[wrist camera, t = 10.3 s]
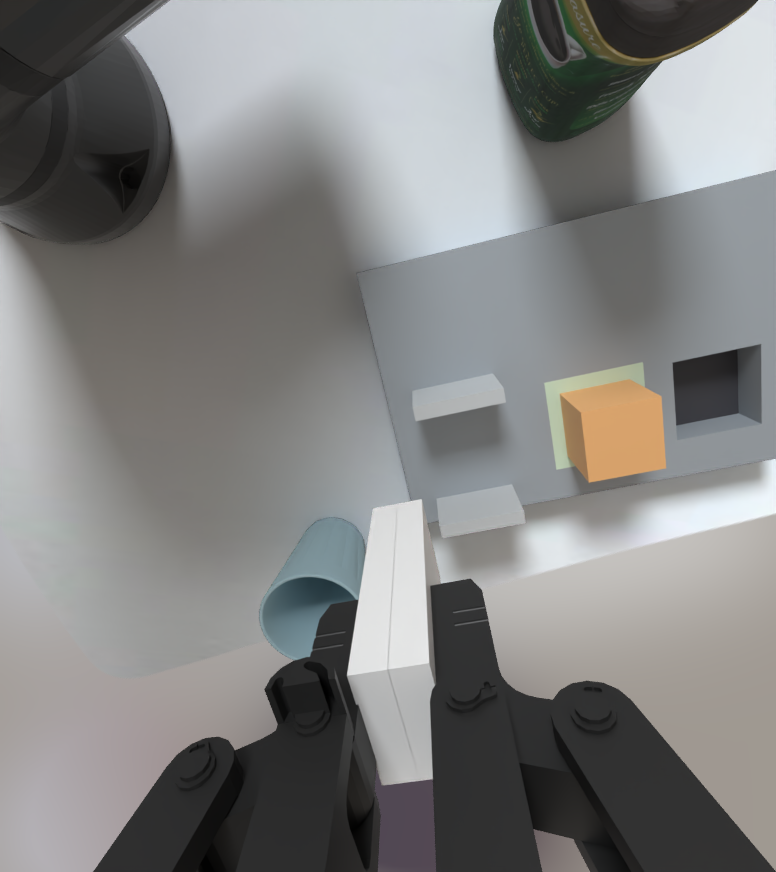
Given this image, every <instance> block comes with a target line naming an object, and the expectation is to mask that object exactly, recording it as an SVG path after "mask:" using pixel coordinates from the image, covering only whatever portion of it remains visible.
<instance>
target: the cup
mask: <svg viewBox="0 0 776 872" xmlns="http://www.w3.org/2000/svg"><path fill="white" fill-rule="evenodd" d="M364 562H365V549H364V542H363V537H362V535H361V533H360V532H359V531H358V529H357V528H356V527H355V526H354V525H353V524H351V523H349V522H347V521H345V520H343V519H339V518H326V519H322V520H319V521H317V522H315V523H314V524H313V525H312V526H311V527H309V528H308V530H307V531H306V532H305V534H304V535H303V537H302V538H301V540H300V542H299V543H298V545H297V546H296V548H295V549H294V551H293V553H292V554H291V556H290V557H289V559H288V560H287V562H286V564H285V565H284V567H283V568H282V570H281V571H280V573H279V574H278V576H277V578H276V579H275V581H274V582H273V584H272V585H271V587H270V588H269V590H268V591H267V593H266V595H265V596H264V598H263V600H262V603H261V606H260V611H259V620H260V626H261V629H262V631H263V633H264V635H265V637H266V639H267V640H268V642H269V643H270V644H271V645H272V646H273V647H274V648H275V649H276V650H277V651H279V652H280V653H281V654H283V655H285V656H286V657H288V658H290V659H292V660H298V659H302V658H305V657H310V654H311V651H312V646H313V643H314V639H315V638H316V631H317V627H318V623H319V619H320V618H321V617H322V615H323V614H324V613H325V611H326V610H327V609H328V607H329V606H330V605H331V604H335V603H341V602H347V601H353V600H358V599H359V595H360V588H361V582H362V575H363V569H364Z"/></svg>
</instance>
